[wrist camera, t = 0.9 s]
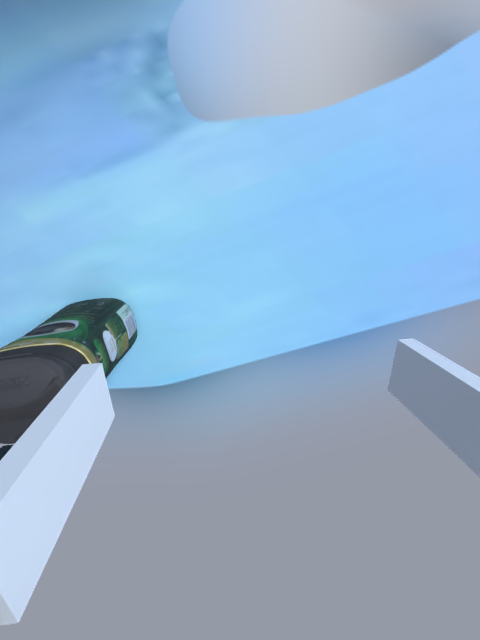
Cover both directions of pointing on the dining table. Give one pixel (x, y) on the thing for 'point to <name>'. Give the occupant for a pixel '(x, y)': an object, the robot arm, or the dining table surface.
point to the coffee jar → (59, 358)
